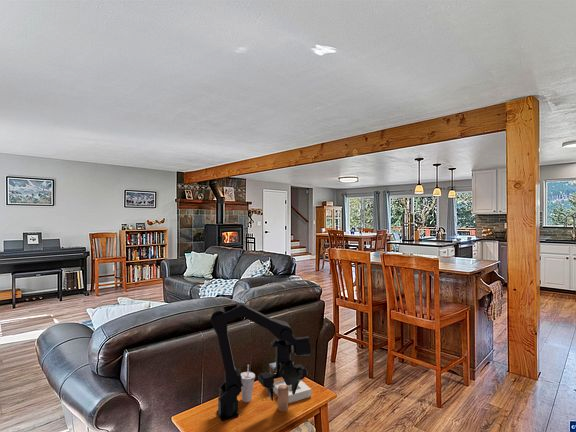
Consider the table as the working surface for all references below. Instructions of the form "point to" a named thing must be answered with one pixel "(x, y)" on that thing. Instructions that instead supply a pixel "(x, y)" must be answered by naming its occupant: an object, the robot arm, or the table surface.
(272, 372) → the grey arch
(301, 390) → the socket board
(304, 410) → the table surface
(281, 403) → the peg
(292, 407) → the table surface
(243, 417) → the table surface
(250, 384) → the smoothie
